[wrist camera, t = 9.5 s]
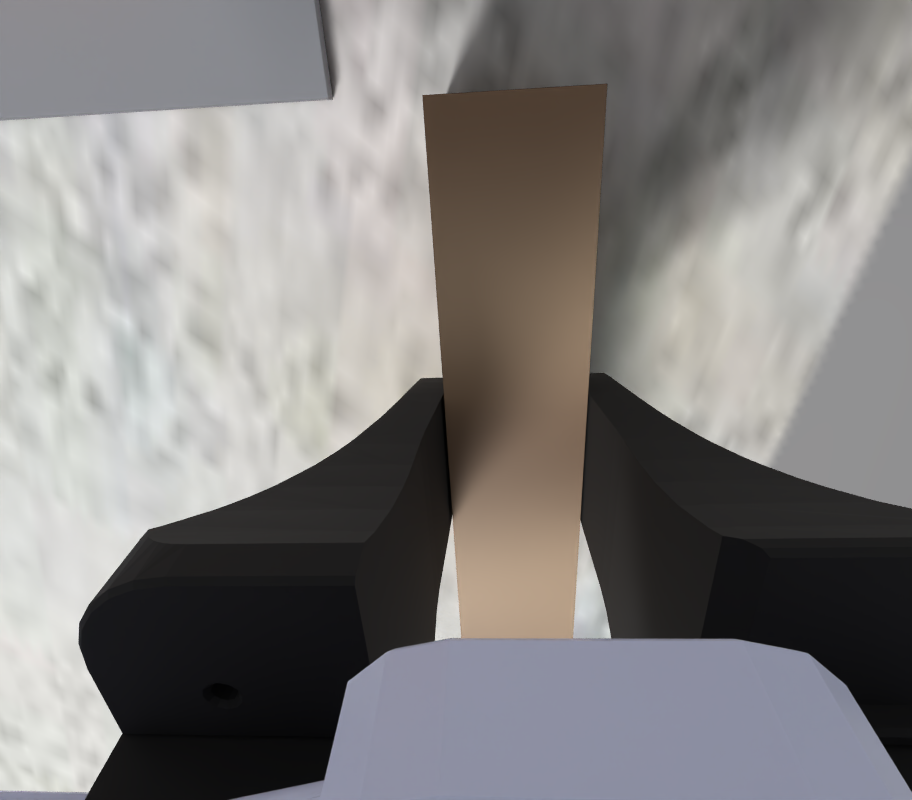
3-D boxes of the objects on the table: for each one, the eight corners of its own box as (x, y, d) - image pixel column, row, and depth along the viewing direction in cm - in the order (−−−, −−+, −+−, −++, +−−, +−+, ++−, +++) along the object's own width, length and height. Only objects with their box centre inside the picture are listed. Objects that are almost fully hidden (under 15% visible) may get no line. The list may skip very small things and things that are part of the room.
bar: (548, 536, 17) (570, 686, 13) (469, 537, 17) (464, 685, 13) (561, 89, 12) (607, 83, 7) (445, 96, 12) (421, 95, 7)
